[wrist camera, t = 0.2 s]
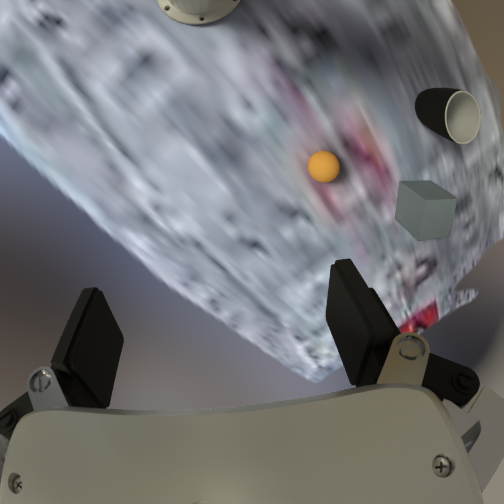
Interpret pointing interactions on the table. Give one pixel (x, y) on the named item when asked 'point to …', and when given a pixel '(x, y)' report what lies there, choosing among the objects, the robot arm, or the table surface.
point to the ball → (323, 166)
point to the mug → (449, 113)
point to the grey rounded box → (425, 209)
